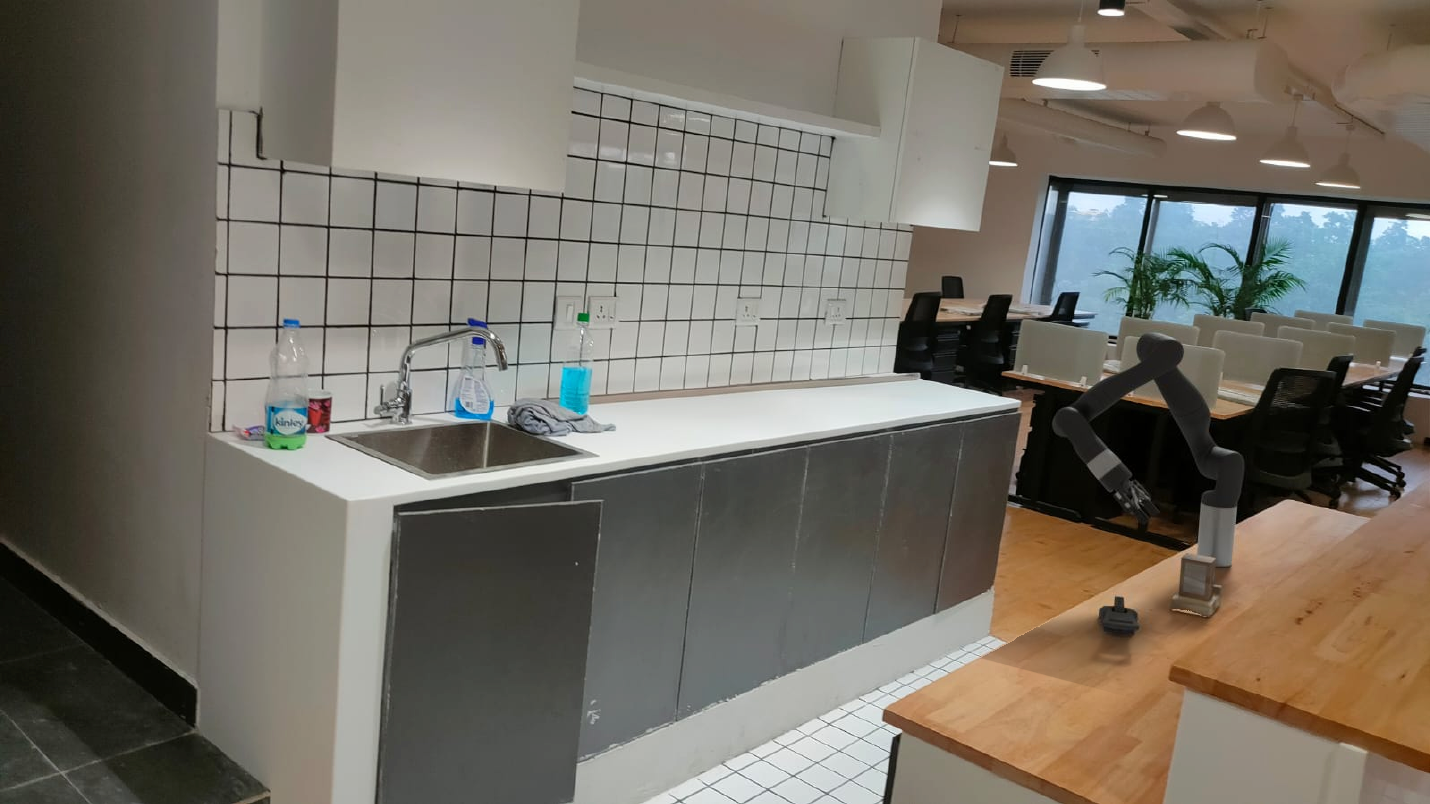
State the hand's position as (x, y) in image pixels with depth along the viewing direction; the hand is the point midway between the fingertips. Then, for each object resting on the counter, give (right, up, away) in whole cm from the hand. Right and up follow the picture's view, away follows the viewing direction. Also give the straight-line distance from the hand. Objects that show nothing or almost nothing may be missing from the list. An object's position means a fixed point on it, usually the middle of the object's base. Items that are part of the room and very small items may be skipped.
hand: (1151, 518), depth 277 cm
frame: (+8, -19, -7) cm, 22 cm away
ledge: (+9, -22, -6) cm, 24 cm away
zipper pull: (-17, -25, -23) cm, 38 cm away
